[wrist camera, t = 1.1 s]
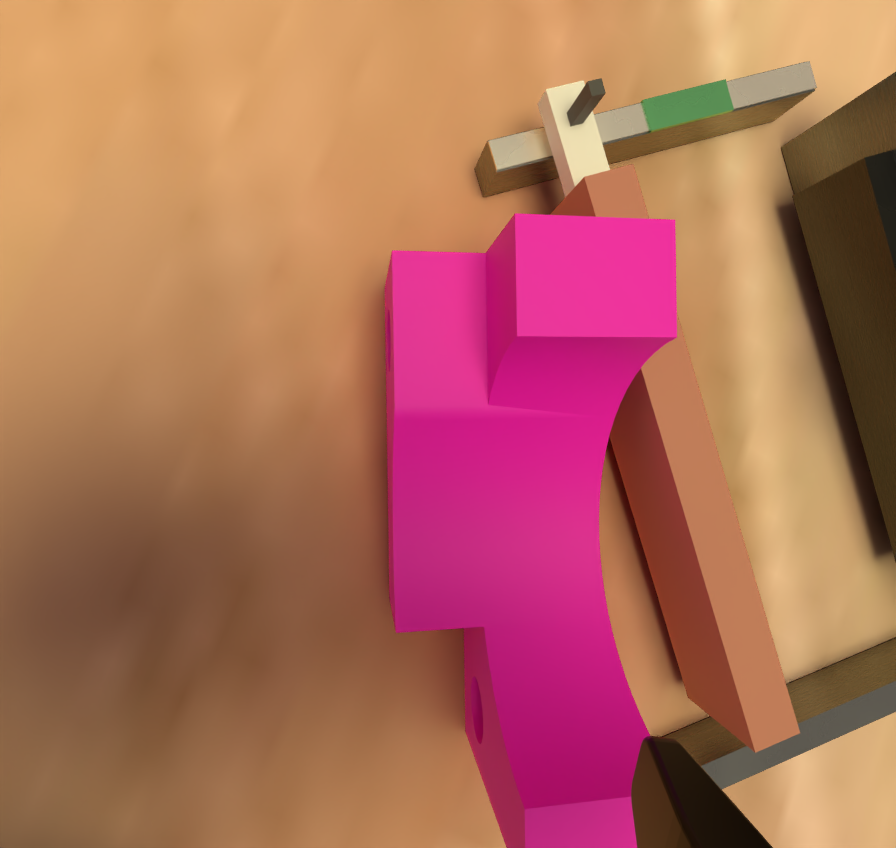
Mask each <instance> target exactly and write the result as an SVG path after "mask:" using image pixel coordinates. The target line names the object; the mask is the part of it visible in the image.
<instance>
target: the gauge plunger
mask: <svg viewBox="0 0 896 848" xmlns="http://www.w3.org/2000/svg"><path fill="white" fill-rule="evenodd" d="M604 95H605V89H604V86H603V82H602V79H596V80H592V81H588V82H587V83H586V85H585V84H584V80H583V81H579V82H575V83H571V84H566V85H562V86H558V87H554V88H550V89H546V90H545V92H544V94H543V95H542V97H541V99H540V101H539V103H538V107H539V111H540V114H541V117H542V121H543V124H544V127H545V131H546V134H547V137H548V141H549V144H550V147H551V151H552V154H553V157H554V161H555V164H556V167H557V171H558V174H559V177H560V181H561V184H562V187H563V191H564V194H565V198H564V200H563V201H562V202H561V203H560V204H559V205H558V206H557V207H556V208H555V209H554V211H553V212H552V213H551V214H550V215H566V216H591V217H617V218H642V219H649V216H648V213H647V209H646V206H645V203H644V199H643V196H642V192H641V189H640V185H639V182H638V179H637V175H636V172H635V168H634V165H633V164H631V165H627V166H623V167H619V168H616V169H612V170H610V168H609V165H608V161H607V158H606V155H605V151H604V148H603V144H602V141H601V138H600V134H599V131H598V128H597V124H596V121H595V117H594V114H593V109H594V108H595V107H596V105H597V104H598V103H599V101H600V100H601V99H602V97H603V96H604ZM609 437H610V440H611V443H612V447H613V450H614V453H615V457H616V460H617V463H618V467H619V470H620V473H621V476H622V480H623V483H624V486H625V490H626V493H627V496H628V500H629V503H630V506H631V510H632V513H633V516H634V520H635V523H636V526H637V530H638V533H639V536H640V540H641V543H642V546H643V550H644V553H645V556H646V559H647V563H648V566H649V569H650V573H651V576H652V579H653V583H654V586H655V589H656V593H657V596H658V599H659V603H660V606H661V609H662V613H663V616H664V619H665V623H666V626H667V629H668V633H669V636H670V639H671V642H672V646H673V649H674V652H675V656H676V659H677V662H678V666H679V669H680V672H681V676H682V679H683V682H684V686H685V689H686V692H687V696H688V698H689V699H690V700H692V701H693V702H694V703H695V704H697V705H698V706H699V707H700V708H701V709H703V710H704V711H705V712H706V713H708V714H709V715H710V716H711V717H712V718H714V719H715V720H716V721H717V722H719V723H720V724H721V725H722V726H723V727H725V728H726V729H727V730H728V731H730V732H731V733H732V734H733V735H734V736H736V737H737V738H738V739H739V740H741V741H742V742H743V743H744V744H745V745H747V746H748V747H749V748H750V749H751V750H753V751H754V752H755V753H756V752H758V751H761V750H763V749H765V748H767V747H770V746H772V745H774V744H776V743H779V742H781V741H783V740H786V739H788V738H790V737H792V736H795V735H797V734H799V733H800V730H799V727H798V724H797V720H796V717H795V713H794V710H793V707H792V703H791V700H790V696H789V693H788V690H787V686H786V683H785V679H784V676H783V673H782V669H781V666H780V662H779V659H778V656H777V652H776V649H775V645H774V642H773V638H772V635H771V632H770V628H769V625H768V621H767V618H766V615H765V611H764V608H763V604H762V601H761V598H760V594H759V591H758V587H757V584H756V581H755V577H754V574H753V570H752V567H751V564H750V560H749V557H748V553H747V550H746V547H745V543H744V540H743V536H742V533H741V529H740V526H739V523H738V519H737V516H736V512H735V509H734V506H733V502H732V499H731V495H730V492H729V489H728V485H727V482H726V478H725V475H724V472H723V468H722V465H721V461H720V458H719V455H718V451H717V448H716V444H715V441H714V438H713V434H712V431H711V427H710V424H709V421H708V417H707V414H706V410H705V407H704V403H703V400H702V397H701V393H700V390H699V386H698V383H697V380H696V376H695V373H694V369H693V366H692V363H691V359H690V356H689V352H688V349H687V346H686V342H685V339H684V335H683V332H682V329H681V325H680V322H679V318H678V315H677V338H675V339H673V340H672V341H670V342H668V343H667V344H665V345H664V346H662V347H661V348H660V349H659V350H658V351H656V352H655V353H654V354H653V355H652V356H651V357H650V358H649V359H648V360H647V361H646V362H645V363H644V365H643V366H642V367H641V369H640V370H639V371H638V373H637V374H636V375H635V377H634V378H633V380H632V382H631V384H630V385H629V387H628V389H627V390H626V393H625V395H624V397H623V399H622V401H621V403H620V405H619V408H618V411H617V413H616V416H615V418H614V422H613V425H612V428H611V432H610V435H609Z"/></svg>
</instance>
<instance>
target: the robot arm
mask: <svg viewBox="0 0 896 848" xmlns="http://www.w3.org/2000/svg"><path fill="white" fill-rule="evenodd" d="M631 802H632V811H633V819H634V827H635V834H636V842H637V848H773V847H772V846H771V845H770V844H769V843H768V842H767V840H766V839H765V838H764V837H763V836H762V835H761V834H760V833H759V831H758V830H757V829H756V828H755V827H754V826H753V825H752V823H751V822H750V821H749V820H748V819H747V818H746V817H745V816H744V814H743V813H742V812H741V811H740V810H739V809H738V808H737V806H736V805H735V804H734V803H733V802H732V801H731V800H730V799H729V797H728V796H727V795H726V794H725V793H724V792H723V791H722V789H721V788H720V787H719V786H718V785H717V784H716V783H715V782H714V780H713V779H712V778H711V777H710V776H709V775H708V774H707V772H706V771H705V770H704V769H703V768H702V767H701V766H700V765H699V763H698V762H697V761H696V760H695V759H694V758H693V757H692V755H691V754H690V753H689V752H688V751H687V750H686V749H685V747H684V746H683V745H682V744H681V743H679V742H678V741H677V740H675V739H670V738H663V737H655V736H647V737H645V738H644V739H643V741H642V743H641V747H640V751H639V755H638V759H637V763H636V768H635V772H634V776H633V780H632V787H631Z"/></svg>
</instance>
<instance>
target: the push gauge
mask: <svg viewBox="0 0 896 848" xmlns="http://www.w3.org/2000/svg"><path fill="white" fill-rule="evenodd" d="M816 88H817V86H816V83H815V79H814V75H813V72H812V68H811V65H810V61H808V62H803V63H799V64H795V65H791V66H787V67H783V68H779V69H775V70H771V71H767V72H763V73H759V74H755V75H751V76H747V77H743V78H739V79H735V80H731V81H727V82H726V79H725V80H721V81H717V82H713V83H709V84H705V85H701V86H697V87H693V88H689V89H685V90H681V91H677V92H673V93H669V94H665V95H661V96H657V97H653V98H649V99H645V100H642V101H641V103H638V104H634V105H630V106H626V107H622V108H618V109H614V110H610V111H606V112H602V113H598V114H594V117H595V121H596V124H597V128H598V131H599V134H600V138H601V141H602V144H603V148H604V151H605V155H606V158H607V161H608V164H612V163H616V162H620V161H623V160H627V159H631V158H635V157H639V156H642V155H646V154H650V153H654V152H658V151H661V150H665V149H669V148H673V147H677V146H680V145H684V144H688V143H692V142H696V141H699V140H703V139H707V138H711V137H715V136H718V135H722V134H726V133H730V132H734V131H737V130H741V129H745V128H749V127H753V126H756V125H760V124H764V123H768V122H772V121H774V120H776V119H777V118H778V117H780V116H781V115H783V114H784V113H785V112H787V111H788V110H789V109H791V108H792V107H793V106H795V105H796V104H797V103H799V102H800V101H802V100H803V99H804V98H806V97H807V96H808V95H810V94H811V93H812V92H814V91H815V89H816ZM781 149H782V152H783V156H784V159H785V163H786V166H787V170H788V173H789V177H790V180H791V184H792V187H793V191H794V195H793V200H794V203H795V207H796V210H797V214H798V218H799V221H800V225H801V228H802V232H803V235H804V239H805V242H806V246H807V249H808V253H809V256H810V260H811V264H812V267H813V271H814V274H815V278H816V281H817V285H818V288H819V292H820V295H821V299H822V302H823V306H824V309H825V313H826V317H827V320H828V324H829V327H830V331H831V334H832V338H833V341H834V345H835V348H836V352H837V355H838V359H839V363H840V366H841V370H842V373H843V377H844V380H845V384H846V387H847V391H848V394H849V398H850V401H851V405H852V409H853V412H854V416H855V419H856V423H857V426H858V430H859V433H860V437H861V440H862V444H863V447H864V451H865V454H866V458H867V462H868V465H869V469H870V472H871V476H872V479H873V483H874V486H875V490H876V493H877V497H878V500H879V504H880V508H881V511H882V515H883V518H884V522H885V525H886V529H887V532H888V536H889V539H890V543H891V546H892V550H893V554H894V557H895V561H896V72H895V73H893V74H892V75H890V76H889V77H887V78H886V79H884V80H882V81H881V82H879V83H878V84H876V85H875V86H873V87H872V88H870V89H869V90H867V91H866V92H864V93H863V94H861V95H860V96H858V97H857V98H855V99H854V100H852V101H851V102H849V103H848V104H846V105H845V106H843V107H841V108H840V109H838V110H837V111H835V112H834V113H832V114H831V115H829V116H828V117H826V118H825V119H823V120H822V121H820V122H819V123H817V124H816V125H814V126H813V127H811V128H810V129H808V130H807V131H805V132H804V133H802V134H801V135H799V136H797V137H796V138H794V139H793V140H791V141H790V142H788V143H787V144H785V145H784V146H782V147H781ZM475 172H476V175H477V178H478V182H479V185H480V188H481V191H482V195H483V197H487V196H490V195H494V194H498V193H502V192H506V191H509V190H513V189H517V188H521V187H525V186H528V185H532V184H536V183H540V182H544V181H547V180H551V179H555V178H559V174H558V171H557V167H556V164H555V161H554V157H553V154H552V151H551V147H550V144H549V141H548V137H547V134H546V131H545V127H542V128H538V129H533V130H529V131H525V132H521V133H517V134H513V135H509V136H505V137H501V138H497V139H493V140H489V141H487V143H486V145H485V147H484V149H483V152H482V154H481V156H480V158H479V160H478V163H477V165H476V167H475ZM786 686H787V690H788V693H789V696H790V700H791V703H792V707H793V710H794V713H795V717H796V720H797V724H798V727H799V730H800V733H799V734H797V735H795V736H792V737H790V738H788V739H786V740H783V741H781V742H779V743H776V744H774V745H772V746H770V747H767V748H765V749H763V750H761V751H758V752H756V753H755V752H754V751H753V750H751V749H750V748H749V747H748V746H747V745H745V744H744V743H743V742H742V741H741V740H739V739H738V738H737V737H736V736H734V735H733V734H732V733H731V732H730V731H728V730H727V729H726V728H725V727H723V726H722V725H721V724H720V723H719V722H717V721H716V720H715V719H714V718H712V717H709V718H706V719H704V720H702V721H699V722H697V723H695V724H692V725H690V726H687V727H685V728H683V729H680V730H678V731H676V732H673V733H671V734H669V735H666V736H664V737H663V738H670V739H675V740H677V741H678V742H679V743H681V744H682V745H683V746H684V747H685V749H686V750H687V751H688V752H689V753H690V754H691V755H692V757H693V758H694V759H695V760H696V761H697V762H698V763H699V765H700V766H701V767H702V768H703V769H704V770H705V771H706V772H707V774H708V775H709V776H710V777H711V778H712V779H713V780H714V782H715V783H716V784H717V785H718V786H719V787H720V788H721V789H723V788H726V787H728V786H730V785H732V784H735V783H737V782H739V781H741V780H744V779H746V778H748V777H750V776H753V775H755V774H757V773H759V772H762V771H764V770H766V769H768V768H771V767H773V766H775V765H777V764H779V763H782V762H784V761H786V760H788V759H791V758H793V757H795V756H797V755H800V754H802V753H804V752H806V751H809V750H811V749H813V748H815V747H818V746H820V745H822V744H824V743H827V742H829V741H831V740H833V739H835V738H838V737H840V736H842V735H844V734H847V733H849V732H851V731H853V730H856V729H858V728H860V727H862V726H865V725H867V724H869V723H871V722H874V721H876V720H878V719H880V718H883V717H885V716H887V715H889V714H891V713H894V712H896V638H895V639H892V640H890V641H888V642H885V643H883V644H881V645H878V646H876V647H873V648H871V649H869V650H866V651H864V652H862V653H859V654H857V655H855V656H852V657H850V658H848V659H845V660H843V661H841V662H838V663H836V664H833V665H831V666H829V667H826V668H824V669H822V670H819V671H817V672H815V673H812V674H810V675H808V676H805V677H803V678H800V679H798V680H796V681H793V682H791V683H789V684H786Z"/></svg>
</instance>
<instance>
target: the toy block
mask: <svg viewBox="0 0 896 848" xmlns="http://www.w3.org/2000/svg"><path fill="white" fill-rule="evenodd" d="M675 338H677V306H676V244H675V220H667V219H642V218H617V217H591V216H566V215H541V214H514V216H513V217H512V218H511V220H510V221H509V222H508V224H507V225H506V226H505V228H504V229H503V230H502V232H501V233H500V235H499V236H498V237H497V239H496V240H495V241H494V243H493V244H492V245H491V247H490V248H489V249H488V251H487V252H486V253H462V252H427V251H392V254H391V259H390V264H389V269H388V274H387V279H386V284H385V343H386V407H387V472H388V536H389V598H390V604H391V609H392V614H393V620H394V625H395V630H396V633H400V632H415V631H429V630H444V629H458V628H464V669H465V731H466V734H467V737H468V740H469V743H470V745H471V748H472V751H473V754H474V757H475V760H476V762H477V765H478V768H479V771H480V774H481V776H482V779H483V782H484V785H485V788H486V791H487V793H488V796H489V799H490V802H491V805H492V807H493V810H494V813H495V816H496V819H497V822H498V824H499V827H500V830H501V833H502V836H503V838H504V841H505V844H506V847H507V848H637V842H636V834H635V827H634V819H633V811H632V802H631V787H632V780H633V776H634V772H635V768H636V763H637V759H638V755H639V751H640V747H641V743H642V741H643V739H644V738H645V737H647V736H650V734H649V732H648V730H647V728H646V726H645V724H644V721H643V719H642V717H641V715H640V713H639V710H638V708H637V706H636V703H635V701H634V698H633V696H632V693H631V691H630V688H629V685H628V682H627V680H626V677H625V674H624V671H623V668H622V665H621V661H620V658H619V655H618V651H617V648H616V644H615V640H614V637H613V633H612V628H611V624H610V619H609V615H608V609H607V604H606V598H605V592H604V585H603V578H602V569H601V559H600V543H599V501H600V487H601V478H602V470H603V463H604V458H605V452H606V448H607V443H608V439H609V435H610V432H611V428H612V425H613V422H614V418H615V416H616V413H617V411H618V408H619V405H620V403H621V401H622V399H623V397H624V395H625V393H626V390H627V389H628V387H629V385H630V384H631V382H632V380H633V378H634V377H635V375H636V374H637V373H638V371H639V370H640V369H641V367H642V366H643V365H644V363H645V362H646V361H647V360H648V359H649V358H650V357H651V356H652V355H653V354H654V353H655V352H656V351H658V350H659V349H660V348H661V347H662V346H664V345H665V344H667V343H668V342H670V341H672V340H673V339H675Z"/></svg>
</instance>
